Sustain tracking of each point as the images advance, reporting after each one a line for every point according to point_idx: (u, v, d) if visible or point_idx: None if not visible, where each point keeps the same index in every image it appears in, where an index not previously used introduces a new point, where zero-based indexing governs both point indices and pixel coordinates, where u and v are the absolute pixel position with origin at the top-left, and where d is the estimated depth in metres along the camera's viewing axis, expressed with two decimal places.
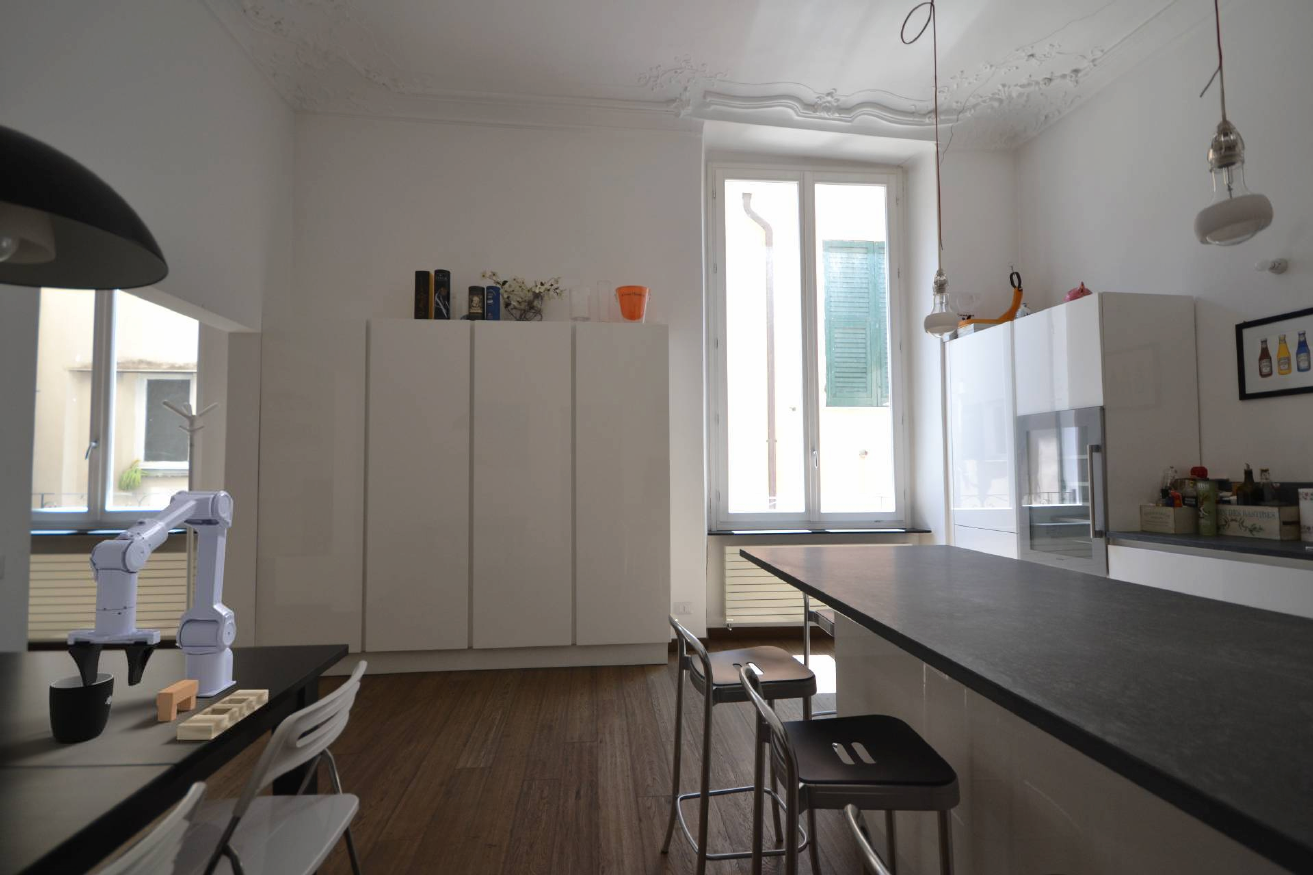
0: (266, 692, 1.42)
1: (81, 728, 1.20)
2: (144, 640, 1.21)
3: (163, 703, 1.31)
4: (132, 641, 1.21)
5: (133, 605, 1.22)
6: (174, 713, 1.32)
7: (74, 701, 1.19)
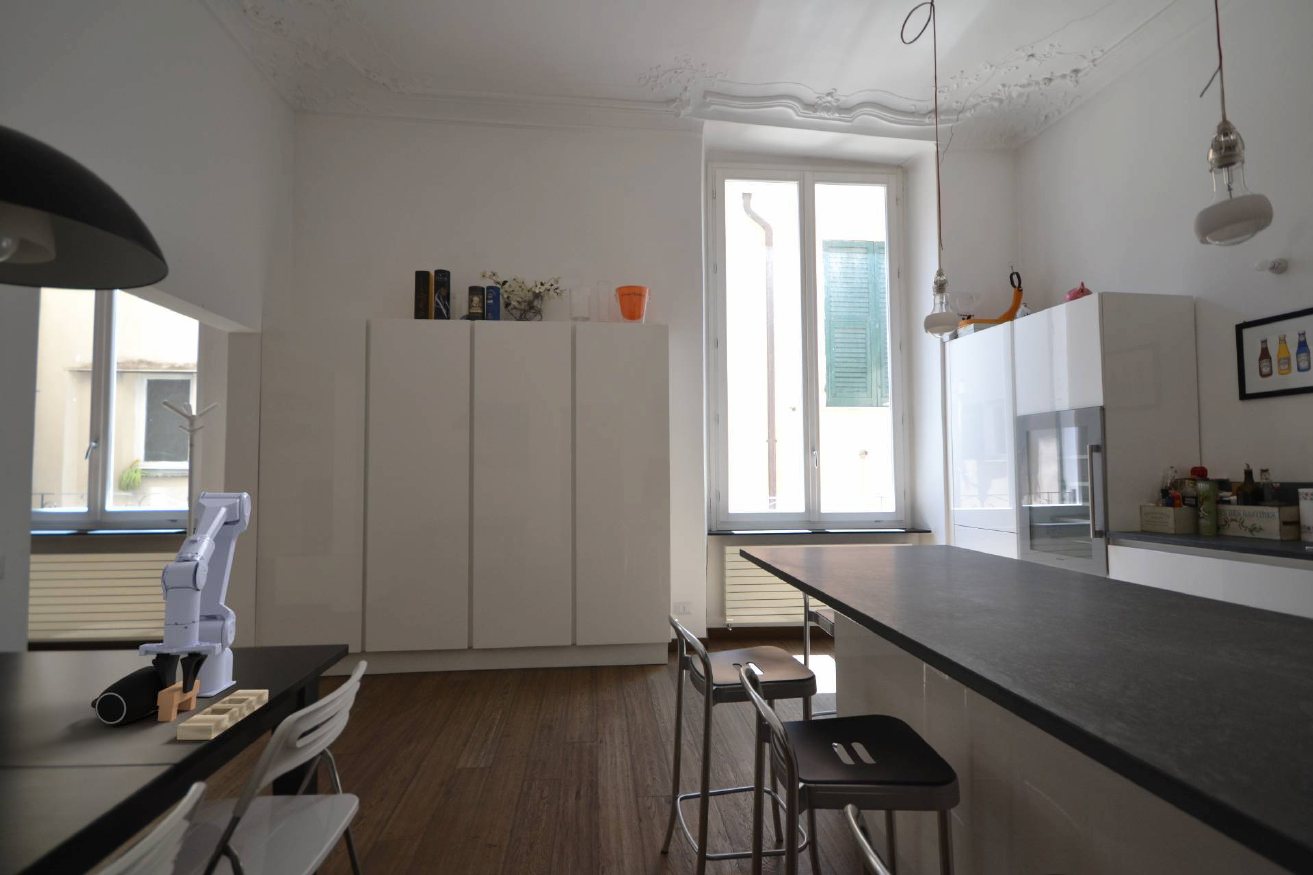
0: (266, 692, 1.42)
1: (141, 700, 1.29)
2: (207, 651, 1.35)
3: (164, 703, 1.31)
4: (196, 652, 1.35)
5: (198, 619, 1.36)
6: (174, 713, 1.32)
7: None
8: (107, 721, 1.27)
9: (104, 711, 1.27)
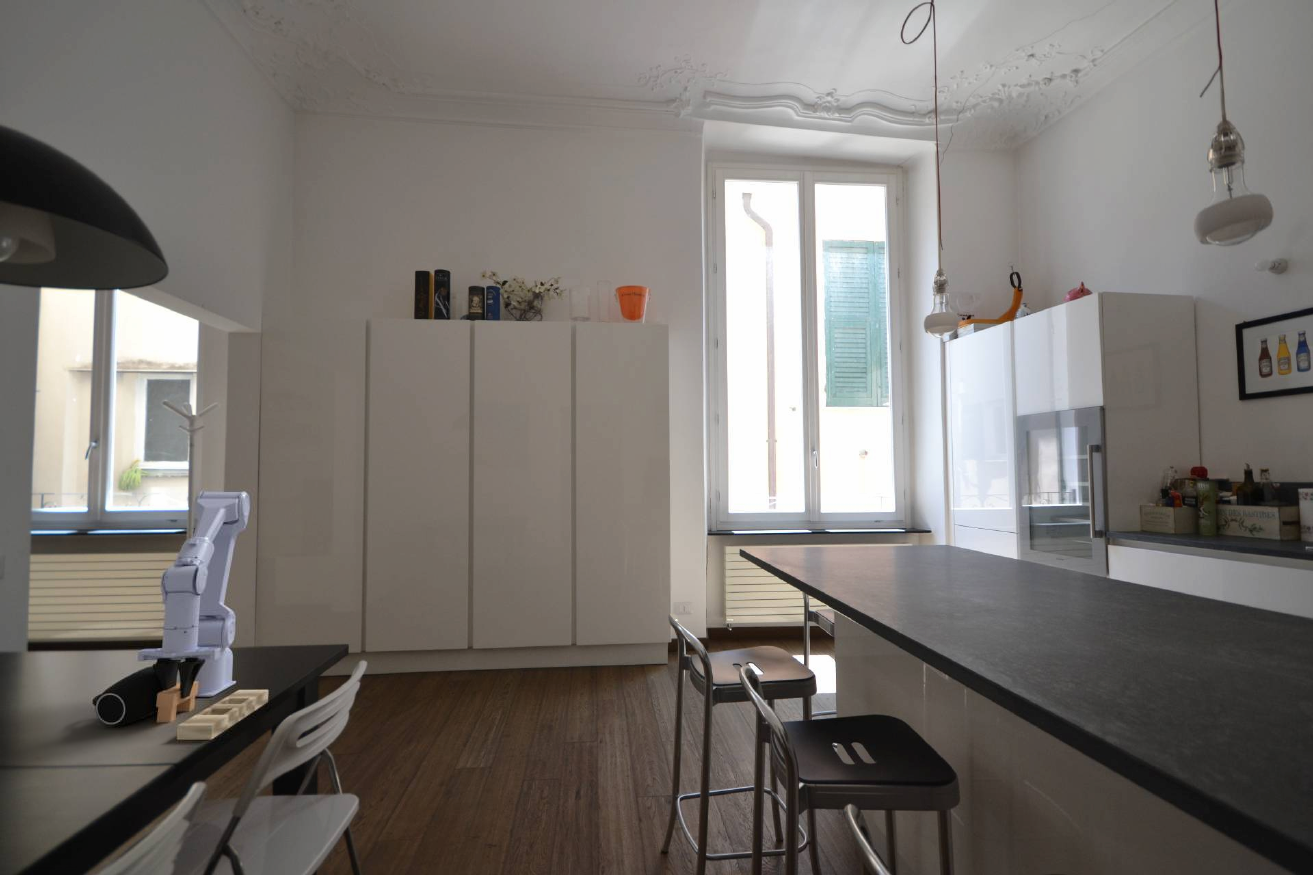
0: (266, 692, 1.42)
1: (141, 703, 1.29)
2: (206, 656, 1.35)
3: (163, 704, 1.30)
4: (195, 657, 1.34)
5: (197, 624, 1.36)
6: (173, 715, 1.31)
7: None
8: (106, 721, 1.26)
9: (103, 711, 1.27)
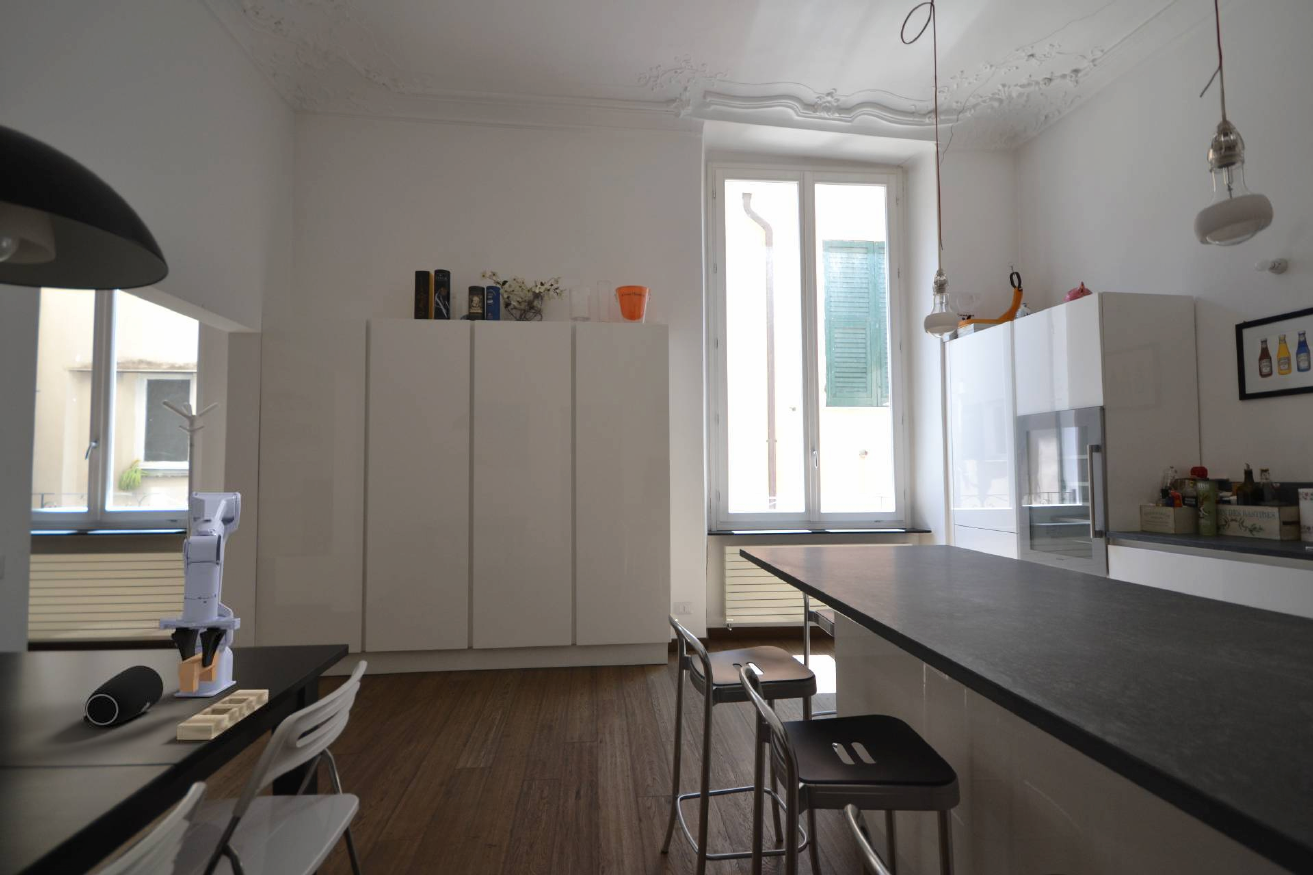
0: (266, 692, 1.42)
1: (130, 693, 1.29)
2: (226, 626, 1.34)
3: (185, 674, 1.31)
4: (215, 627, 1.34)
5: (218, 594, 1.36)
6: (196, 684, 1.32)
7: (147, 676, 1.34)
8: (104, 722, 1.26)
9: (96, 715, 1.26)
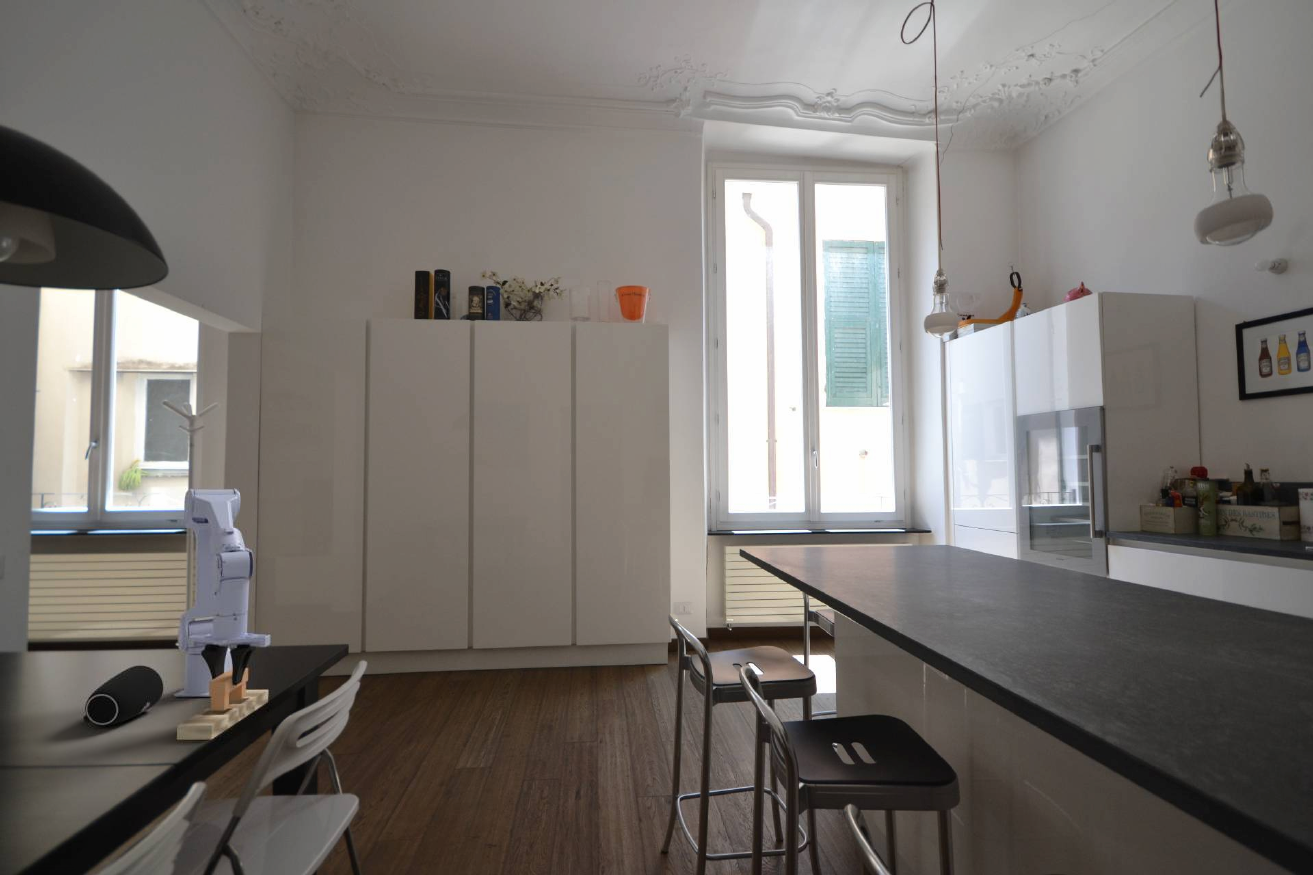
0: (266, 692, 1.42)
1: (130, 693, 1.29)
2: (256, 643, 1.33)
3: (216, 692, 1.29)
4: (245, 644, 1.33)
5: None
6: (227, 702, 1.30)
7: (147, 676, 1.34)
8: (104, 722, 1.26)
9: (96, 715, 1.26)
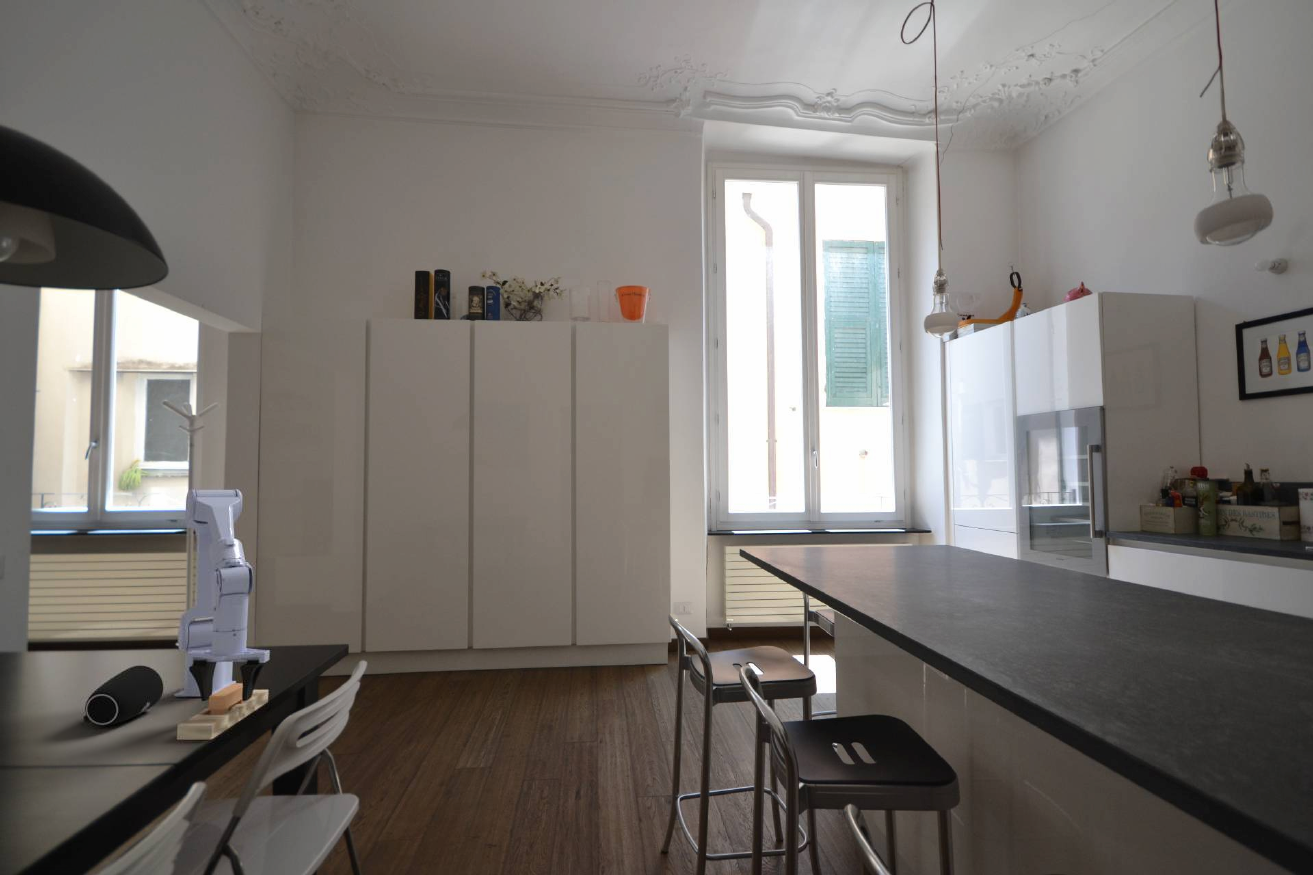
0: (266, 692, 1.42)
1: (130, 693, 1.29)
2: (256, 659, 1.33)
3: (215, 707, 1.29)
4: (245, 660, 1.33)
5: None
6: None
7: (147, 676, 1.34)
8: (104, 722, 1.26)
9: (96, 715, 1.26)
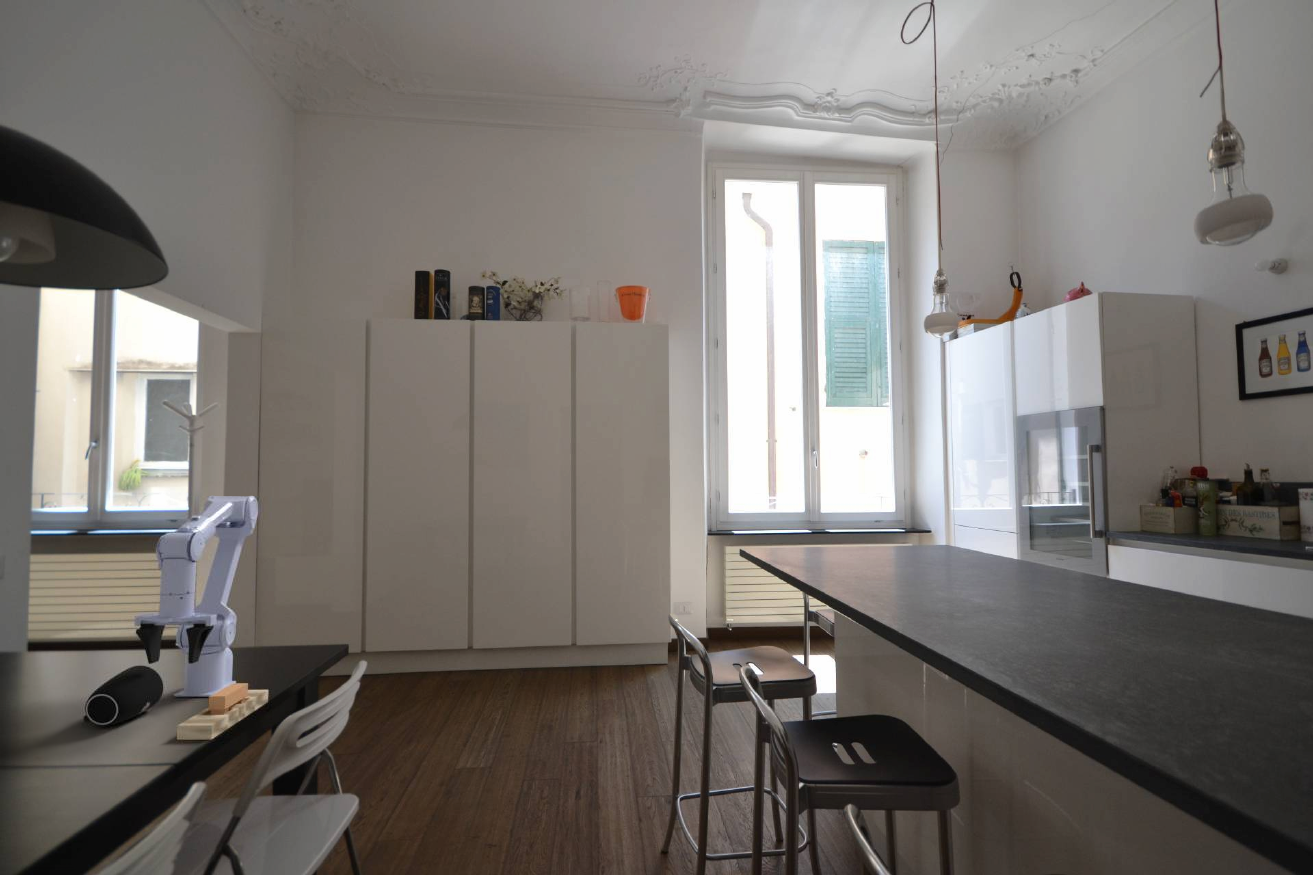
0: (266, 692, 1.42)
1: (130, 693, 1.29)
2: (202, 622, 1.35)
3: (215, 707, 1.29)
4: (192, 623, 1.35)
5: (193, 591, 1.36)
6: None
7: (147, 676, 1.34)
8: (104, 722, 1.26)
9: (96, 715, 1.26)
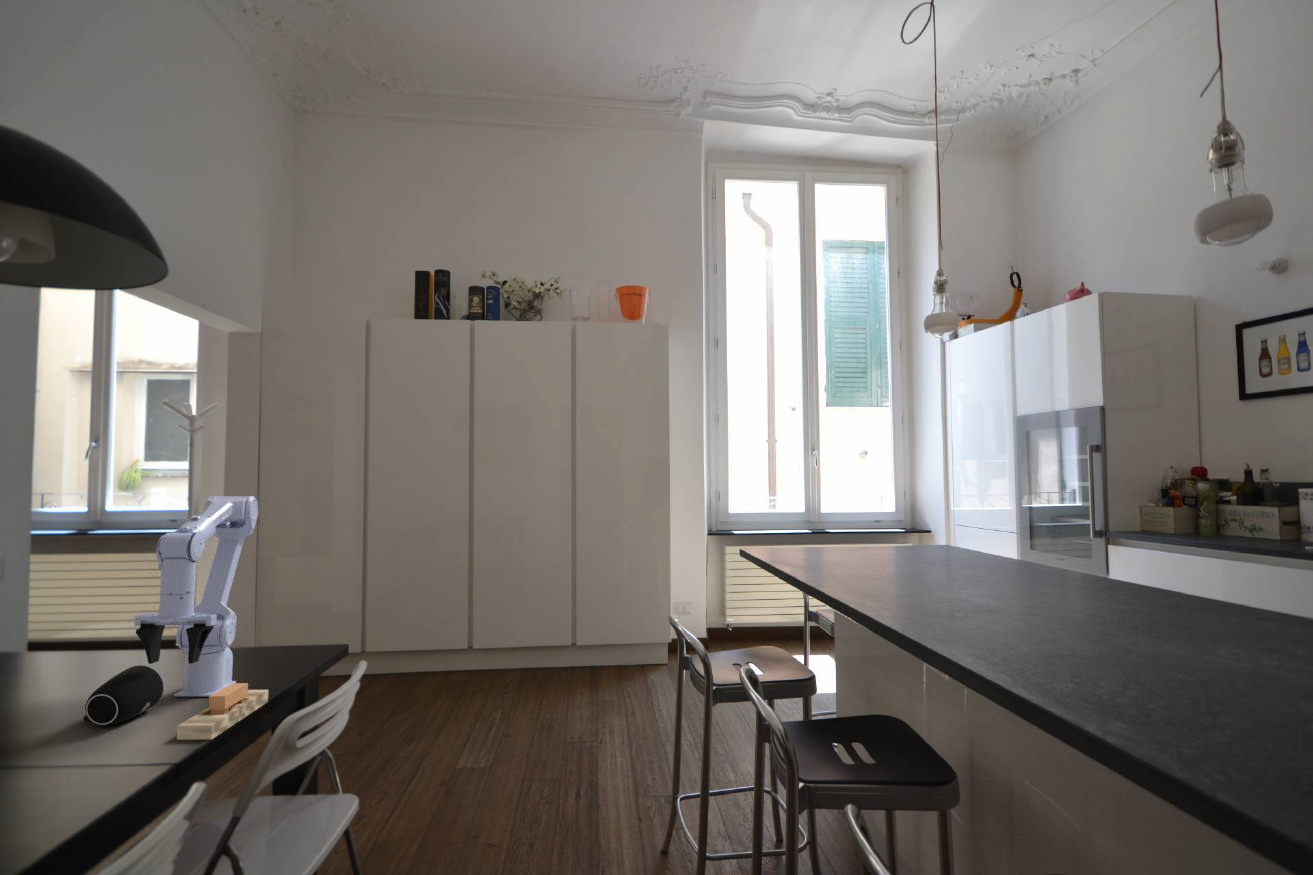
0: (266, 692, 1.42)
1: (130, 693, 1.29)
2: (202, 622, 1.35)
3: (215, 707, 1.29)
4: (192, 623, 1.35)
5: (193, 591, 1.36)
6: None
7: (147, 676, 1.34)
8: (104, 722, 1.26)
9: (96, 715, 1.26)
